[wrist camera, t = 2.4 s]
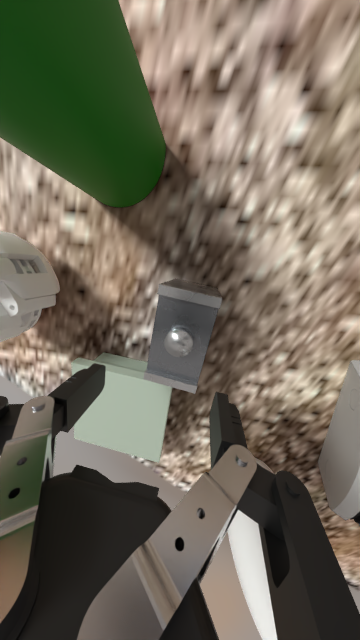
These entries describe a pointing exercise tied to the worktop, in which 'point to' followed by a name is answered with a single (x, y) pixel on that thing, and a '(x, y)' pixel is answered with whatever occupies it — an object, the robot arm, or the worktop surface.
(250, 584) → the sauce bottle
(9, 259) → the mechanical part
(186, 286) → the housing
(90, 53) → the motor
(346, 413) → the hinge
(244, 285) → the worktop surface
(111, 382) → the stand
